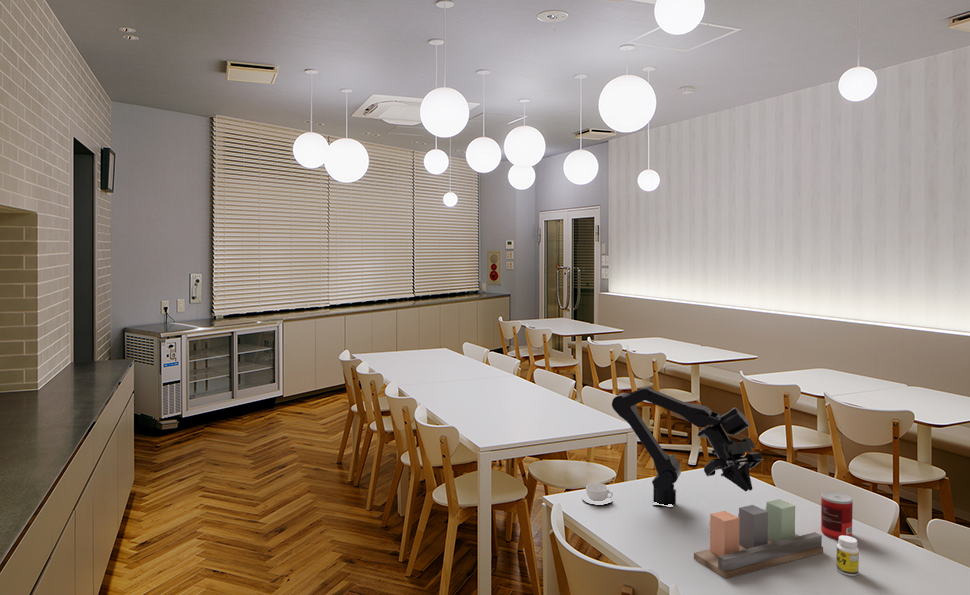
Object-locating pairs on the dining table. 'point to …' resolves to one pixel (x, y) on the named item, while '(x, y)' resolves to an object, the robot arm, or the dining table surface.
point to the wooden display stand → (761, 555)
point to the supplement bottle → (847, 556)
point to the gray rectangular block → (753, 526)
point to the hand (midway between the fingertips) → (749, 490)
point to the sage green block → (780, 520)
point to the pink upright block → (724, 533)
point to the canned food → (836, 514)
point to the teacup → (598, 492)
